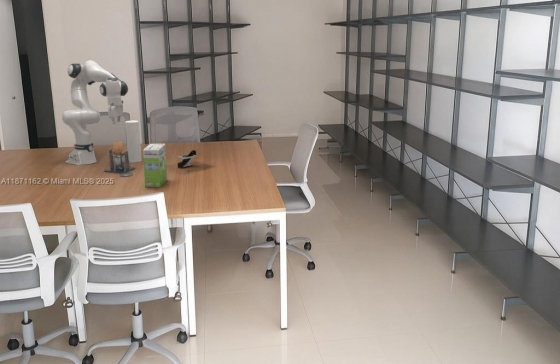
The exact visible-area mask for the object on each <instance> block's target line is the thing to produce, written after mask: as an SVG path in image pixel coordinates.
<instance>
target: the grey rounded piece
mask: <svg viewBox="0 0 560 364" xmlns="http://www.w3.org/2000/svg"><path fill="white" fill-rule="evenodd" d="M118 176H119V177H121V178H130V177H132V176H134V173H133V172H130V171H129V172H126V173H121V174H118Z"/></svg>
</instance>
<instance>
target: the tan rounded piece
mask: <svg viewBox="0 0 560 364" xmlns="http://www.w3.org/2000/svg"><path fill="white" fill-rule="evenodd" d="M124 152H125V151H123V142H122V141H121V140H118V141H117V140H116V141H113V151H111V153H114V154H115V155H120V154H124Z"/></svg>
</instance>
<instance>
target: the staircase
mask: <svg viewBox="0 0 560 364" xmlns="http://www.w3.org/2000/svg"><path fill="white" fill-rule="evenodd" d="M196 157H197V150H194V149H192V150H191V151H190V152H189V153H186V154H183V155H180V154H179V155H177V158H180V159H181V161H180V162H177V168H178V169H181V168H182V169H183V168H185V167H190V166H192V158H196Z"/></svg>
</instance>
